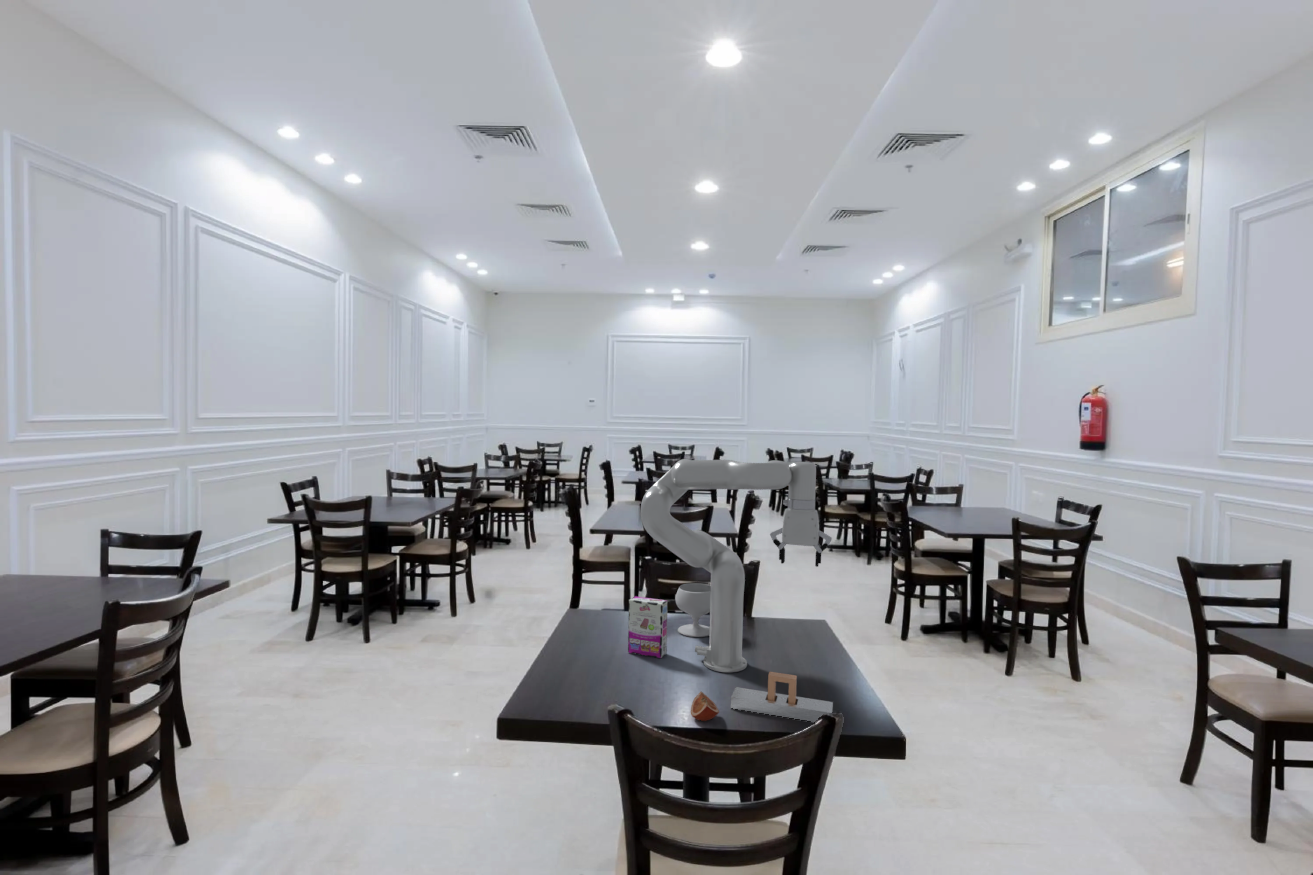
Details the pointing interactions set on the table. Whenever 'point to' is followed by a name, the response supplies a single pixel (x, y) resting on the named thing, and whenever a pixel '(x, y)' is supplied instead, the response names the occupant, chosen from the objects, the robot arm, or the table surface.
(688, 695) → the table surface
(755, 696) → the rail
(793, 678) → the orange u-shaped block
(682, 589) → the chalice
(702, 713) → the fruit slice
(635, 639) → the candy bar box
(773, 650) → the table surface
